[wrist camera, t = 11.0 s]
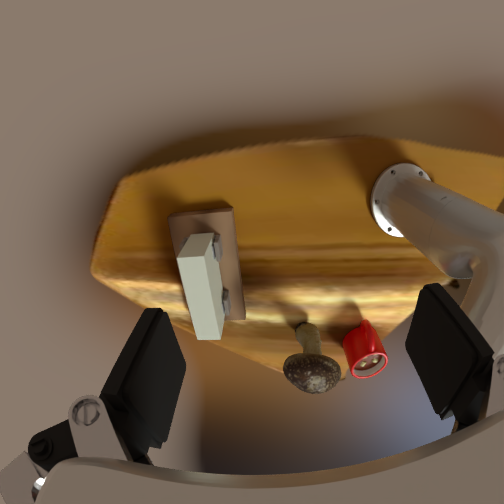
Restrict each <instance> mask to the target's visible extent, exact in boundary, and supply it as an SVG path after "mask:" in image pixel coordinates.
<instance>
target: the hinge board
mask: <svg viewBox="0 0 504 504" xmlns="http://www.w3.org/2000/svg"><path fill="white" fill-rule="evenodd" d="M168 223H169V228H170V233H171V238H172V243H173V247H174V252H175V256H176V261H177V257H178V255H179V253H180V252H181V250H182V248H183V247H184V245H185V243H186V242H187V240H188V238H189V237H190V235H191V234H202V233H214V236H215V241H214V248H215V254H216V261H217V262H219V269H220V275H221V281H222V287H223V293H224V300H223V302H224V307H225V317H224V321H225V320H245V319H246V310H245V302H244V294H243V286H242V278H241V270H240V262H239V254H238V246H237V237H236V229H235V220H234V212H233V208H222V209H211V210H201V211H191V212H182V213H173V214H170V216H169V217H168ZM177 265H178V261H177ZM178 269H179V266H178ZM179 274H180V270H179ZM180 278H181V274H180ZM181 282H182V279H181ZM182 286H183V283H182ZM183 290H184V287H183ZM184 294H185V291H184ZM185 298H186V295H185ZM186 302H187V299H186ZM187 305H188V303H187ZM188 309H189V307H188ZM189 313H190V310H189ZM190 317H191V314H190ZM191 320H192V318H191Z"/></svg>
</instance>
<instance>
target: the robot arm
mask: <svg viewBox="0 0 504 504" xmlns="http://www.w3.org/2000/svg"><path fill="white" fill-rule="evenodd" d="M391 171H392V173H391ZM375 200H376V202H375ZM370 203H371V211H372V215H373V218H374V220H375V222H376V223H377V224H378V226H379V227H380V228H381V229H382V230H383V231H384V232H386V233H387V234H389V235H392V236H395V237H405V238H406V239H407V240H409V241H410V242H411V243H412V244H413V245H414V246H415V247H416V248H417V249H418V250H420V251H421V252H422V253H423V254H424V255H425V256H426V257H427V258H428V259H429V260H430V261H431V262H432V263H433V264H434V265H436V266H437V267H438V268H439V269H440V270H441V271H442V272H443V273H445V274H446V275H448V276H450V277H453V278H457V279H467V278H472V281H471V284H470V286H469V289H468V290H467V293H466V296H465V298H464V300H463V302H462V304H461V306H460V307H459V305H457V303H456V302H455V301H454V300H453V298H452V297H451V296H450V295H449V294H448V293H447V292H446V290H445V289H444V288H443V287H442V286H441V285H440V284H439V283H433V284H427V285H424V287H423V289H421V290H420V292H419V296H418V300H417V304H416V308H415V312H414V315H413V319H412V322H411V326H410V329H409V333H408V336H407V339H406V342H405V346H406V350H407V353H408V354H409V356H410V358H411V361H412V363H413V365H414V367H415V369H416V371H417V373H418V375H419V377H420V379H421V381H422V384H423V386H424V388H425V390H426V393H427V395H428V397H429V399H430V402H431V404H432V406H433V409H434V411H435V413H436V414H439V415H440V418H441V420H444V419H446V418H449V417H451V416H453V414H454V416H455V423H454V426H453V429H452V432H451V435H449V436H446V437H444V438H441V439H439V440H436V441H434V442H432V443H429V444H426V445H423V446H421V447H418V448H415V449H412V450H409V451H406V452H403V453H400V454H396V455H393V456H389V457H386V458H382V459H378V460H374V461H370V462H366V463H362V464H357V465H352V466H348V467H342V468H336V469H330V470H323V471H315V472H306V473H295V474H281V475H223V474H209V473H199V472H191V471H182V470H175V469H168V468H162V467H157V466H154V465H153V463H152V461H151V460H150V458H149V456H148V454H147V453H148V449H149V447H154V448H159V449H160V448H161V446H162V443H163V442H166V441H167V438H168V434H169V430H170V427H171V423H172V419H173V415H174V411H175V408H176V404H177V400H178V396H179V393H180V389H181V386H182V382H183V378H184V375H185V371H186V362H185V359H184V357H183V354H182V352H181V349H180V346H179V344H178V341H177V339H176V336H175V333H174V331H173V328H172V325H171V322H170V319H169V316H168V314H167V312H163V310H162V309H161V308H146V309H145V310H144V312H143V313H142V315H141V317H140V319H139V321H138V322H137V324H136V326H135V328H134V330H133V331H132V333H131V335H130V337H129V338H128V341H127V342H126V344H125V346H124V348H123V350H122V352H121V353H120V356H119V357H118V359H117V361H116V363H115V365H114V367H113V369H112V371H111V373H110V375H109V377H108V379H107V381H106V383H105V385H104V387H103V389H102V391H101V394H100V396H99V397H97V396H94V395H86V396H82V397H80V398H78V399H77V400H76V401H75V402H74V403H72V405H71V407H70V409H69V412H68V420H65V421H64V422H61V423H59V424H57V425H55V426H53V427H50V428H48V429H46V430H44V431H41V432H39V433H37V434H36V435H34V436H33V437H32V438H31V440H30V442H29V445H28V453H27V452H25V451H24V452H23V453H22V454H20V455H19V456H18V457H17V458H16V459H14V460H13V461H12V462H11V463H10V464H8V466H6V467H5V468H4V469H3V470H1V472H0V493H1V495H2V497H3V499H4V501H5V503H6V504H504V214H502V213H499V212H497V211H494V210H492V209H490V208H488V207H486V206H484V205H482V204H479V203H477V202H475V201H473V200H471V199H469V198H467V197H465V196H463V195H461V194H459V193H457V192H454V191H452V190H450V189H448V188H445V187H443V186H441V185H439V184H436V183H434V182H431V180H430V178H429V176H428V175H427V174H426V173H425V171H424V170H422V169H421V168H420V167H418V166H416V165H413V164H410V163H398V164H394V165H392V166H390V167H388V168H387V169H386V170H384V171H383V172H382V173H381V174H380V176H379V177H378V179H377V180H376V182H375V184H374V186H373V189H372V193H371V201H370Z"/></svg>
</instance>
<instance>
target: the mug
mask: <svg viewBox="0 0 504 504" xmlns="http://www.w3.org/2000/svg"><path fill="white" fill-rule="evenodd" d="M342 345H343V349H344V352H345V355H346V358H347V362H348V365H349V368H350V371H351V374H352V375H353V376H354V377H356V378H368V377H372V376H374V375H376V374H377V373H379V372H380V371H382V370H383V369H384V367H385V366H386V364H387V362H388V357H387V354H386V352H385V350H384V348H383V345H382V343H381V341H380V339H379V337H378V335H377V332H376V331H375V329H374V328H372V326H371V324H370V322H369V321H368V320H363V321H362V322H361V323H360V327H358V328H355V329H353V330H352V331H350V332H349V333H348V334H347V335H346V336H345V338H344V339H343V343H342Z"/></svg>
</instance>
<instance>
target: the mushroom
mask: <svg viewBox="0 0 504 504" xmlns="http://www.w3.org/2000/svg"><path fill="white" fill-rule="evenodd" d="M295 333H296V334H295V335H296V339H297V340H298V342H299V343H300V344H301V346H302V347H303V353H299V354H294V355H291V356H289V357H288V358H287V359H286V360H285V362H284V366H283V371H284V374H285V376H286V378H287V379H288V380H289V381H290V382H291V383H292V384H293V385H295V386H296V387H297V388H299V389H300V390H302V391H304V392H307V393H312V394H319V393H324V392H327V391H329V390H330V389H332V388H333V387H335V386H336V384H337V383H338V382H339V380H340V378H341V369H340V366H339V364H338V363H337V362H336V361H335V360H333V359H332V358H330V357H327V356H324V355H322V352H321V340H320V335H319V330H318V328H317V327H316V326H315V325H313V324H311V323H304V322H301V323H299V324H298V326H297V327H296V329H295Z"/></svg>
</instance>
